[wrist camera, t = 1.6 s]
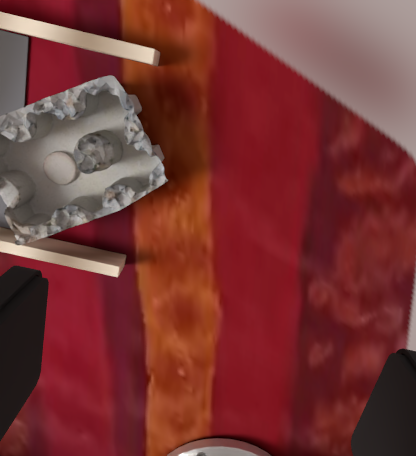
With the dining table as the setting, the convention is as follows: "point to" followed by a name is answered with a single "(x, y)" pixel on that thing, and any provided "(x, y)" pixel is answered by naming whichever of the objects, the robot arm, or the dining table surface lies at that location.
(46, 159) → the egg carton
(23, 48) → the channel
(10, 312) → the robot arm
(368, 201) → the dining table surface
